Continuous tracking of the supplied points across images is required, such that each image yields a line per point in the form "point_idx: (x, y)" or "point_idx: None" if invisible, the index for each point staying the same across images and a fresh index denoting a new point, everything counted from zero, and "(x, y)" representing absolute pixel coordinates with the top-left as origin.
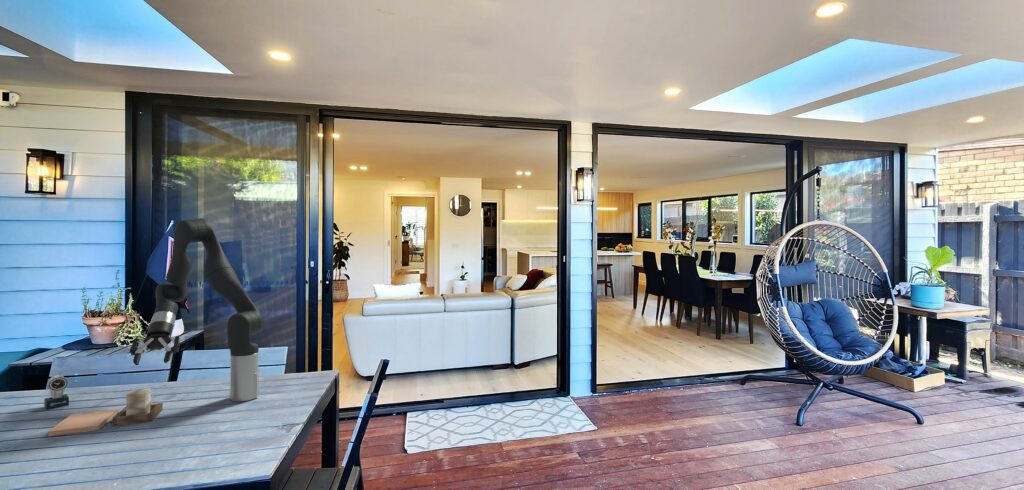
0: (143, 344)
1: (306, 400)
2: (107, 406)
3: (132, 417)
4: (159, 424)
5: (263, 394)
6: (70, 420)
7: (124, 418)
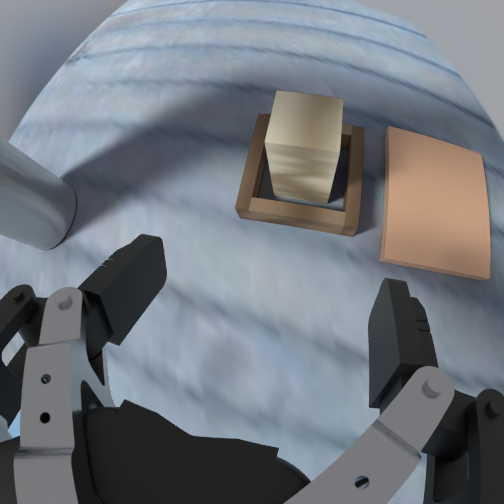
0: (387, 497)
1: None
2: None
3: None
4: (242, 101)
5: None
6: (474, 212)
7: None
